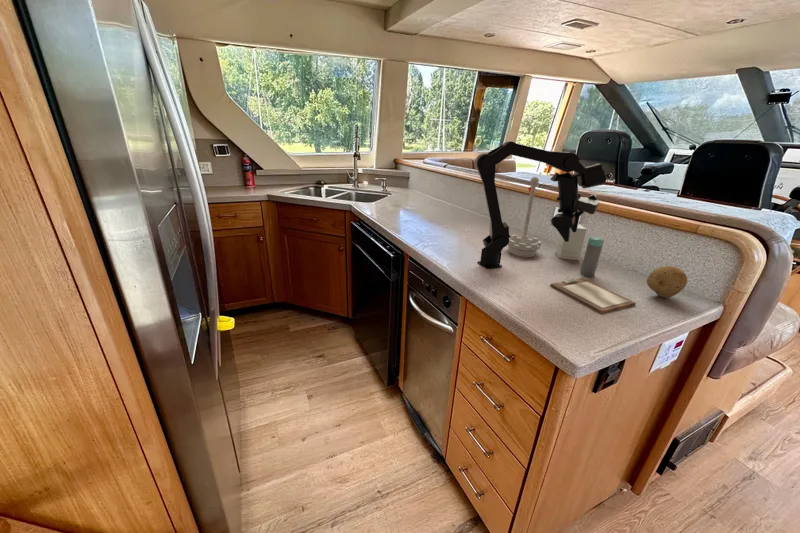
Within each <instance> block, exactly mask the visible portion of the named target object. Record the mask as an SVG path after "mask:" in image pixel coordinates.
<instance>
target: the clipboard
mask: <svg viewBox="0 0 800 533" xmlns="http://www.w3.org/2000/svg"><path fill="white" fill-rule="evenodd" d="M549 287H551V288H553V289H555V290H557V291H558V292H560V293H563V294H564V295H566V296H568V297H569V298H572V299H573V300H575V301H577V302H579V303H581V304H582V305H585V306H586V307H587V308H590V309H591V310H594V311H595V312H597V313H599V314H605V313H610V312H612V311H617V310H621V309H624V308H630V307H633V306H636V302H635V301H633V300H631V299H629V298H627V297H624V296H622V295H620V294H618V293H616V292H614V291H611V290H609V289H608V288H605V287H603V286H601V285H598V284H597V283H594V282H592V281H590V280H588V279H586V278H583V277H580V278H570V279H565V280H562V281H559V282H558V281H557V282H552V283H550V285H549Z"/></svg>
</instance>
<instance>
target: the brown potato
mask: <svg viewBox="0 0 800 533" xmlns="http://www.w3.org/2000/svg"><path fill="white" fill-rule="evenodd" d="M646 284H647V286H648V287H649V289H651V290H652V291H653V292H655V294H656V295H657V296H659V297H661V298H663V299H666V298H671V297H674V296H675V295H678V294H680V292H681V291H682V290H684V289H685V287H686V286H687V284H688V277H687V274H686V273H685V271H683V270H682V269H681V268H679V267H676V266H673V265H665V266H664V265H663V266H659V267H657V268H655V269H653V270H652V271H651V272H650V273H649V275H648V276H647V278H646Z"/></svg>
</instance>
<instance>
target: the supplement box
mask: <svg viewBox="0 0 800 533" xmlns="http://www.w3.org/2000/svg"><path fill="white" fill-rule="evenodd" d="M587 231H588V229H587V227H585V226H583V225H582V224H580V223H578V227H577V231H576V232H573V231H572V229H571V228H570V237H569V242H565V241H564V239H563V238H562V236H561V235H560V233H559V234H558V238H557V243H556V247H555V251H554V253H555V254H556V255H557V257H558V259H562V260H571V261H572V260H573V261H579V260H580V257H581V254H582V250H583V246H584V241H585V238H586V234H587Z"/></svg>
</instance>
